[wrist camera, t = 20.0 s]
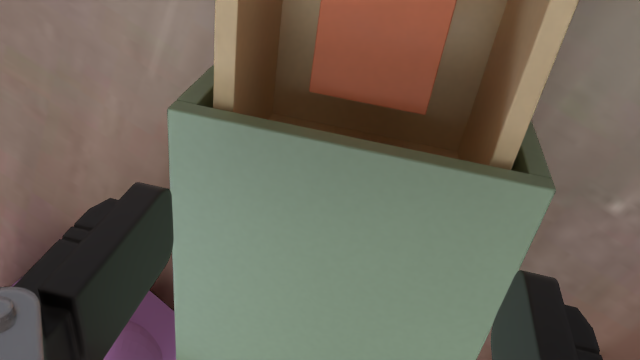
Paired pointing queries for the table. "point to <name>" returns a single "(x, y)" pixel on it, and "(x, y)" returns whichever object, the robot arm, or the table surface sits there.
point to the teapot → (146, 333)
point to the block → (380, 50)
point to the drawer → (386, 123)
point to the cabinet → (338, 240)
